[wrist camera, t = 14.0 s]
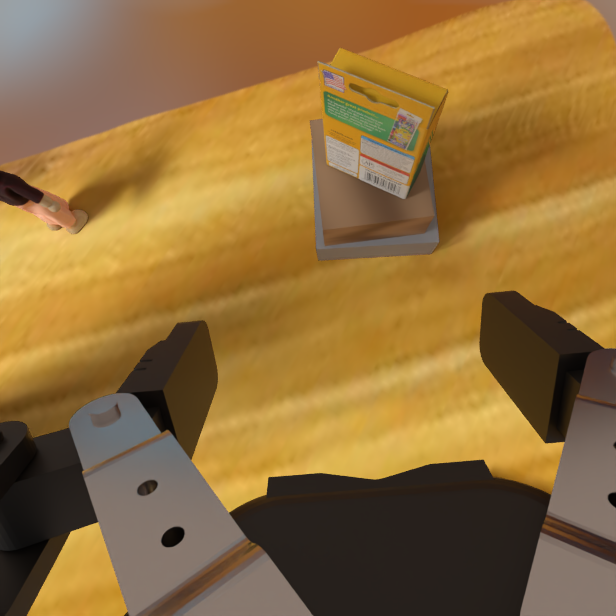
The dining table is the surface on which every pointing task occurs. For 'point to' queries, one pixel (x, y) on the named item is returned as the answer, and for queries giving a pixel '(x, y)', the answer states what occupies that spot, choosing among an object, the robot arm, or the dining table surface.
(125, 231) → the dining table surface
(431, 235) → the tower base block
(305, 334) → the dining table surface
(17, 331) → the dining table surface
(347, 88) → the crayon box
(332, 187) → the tower top block
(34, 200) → the grandmother figurine
